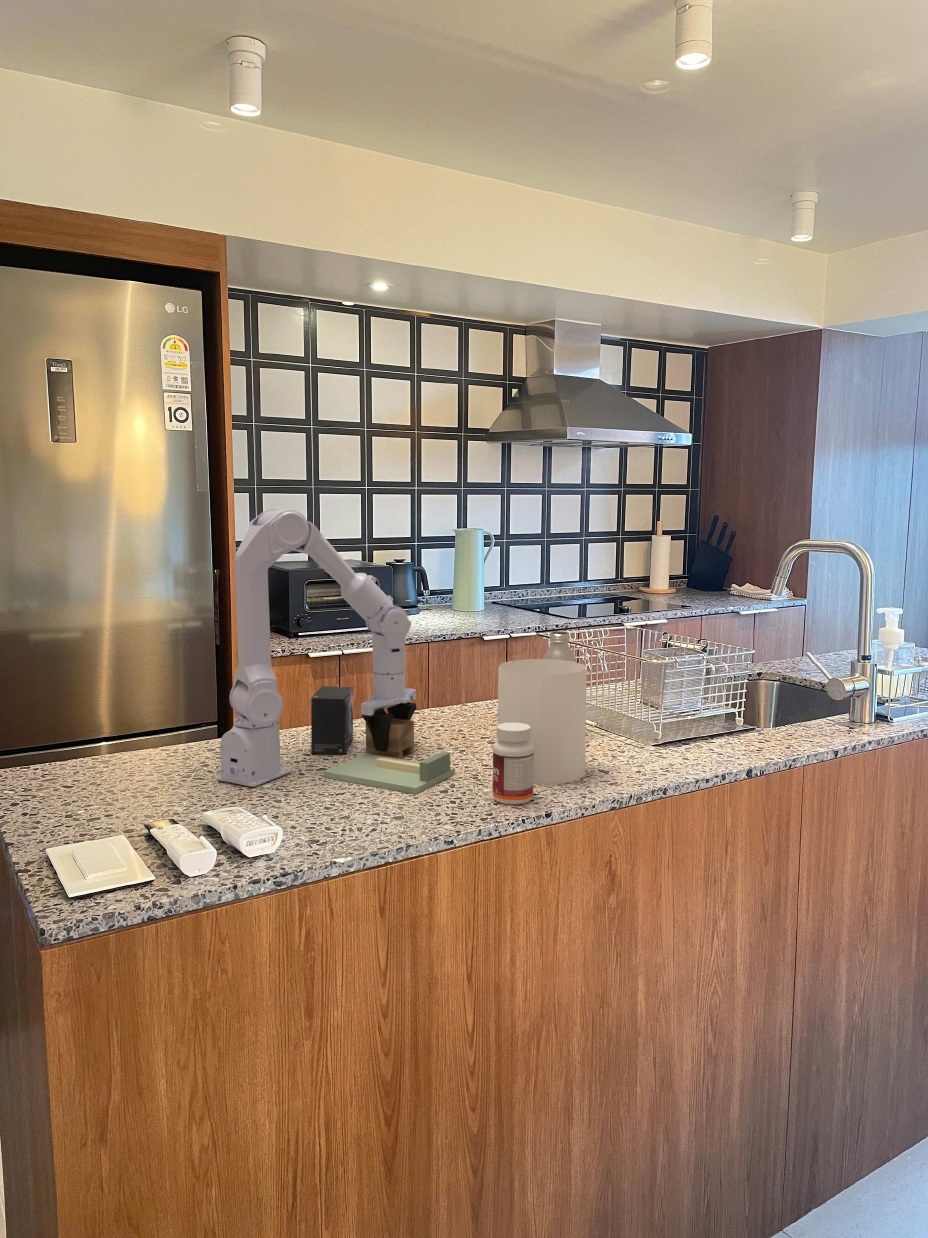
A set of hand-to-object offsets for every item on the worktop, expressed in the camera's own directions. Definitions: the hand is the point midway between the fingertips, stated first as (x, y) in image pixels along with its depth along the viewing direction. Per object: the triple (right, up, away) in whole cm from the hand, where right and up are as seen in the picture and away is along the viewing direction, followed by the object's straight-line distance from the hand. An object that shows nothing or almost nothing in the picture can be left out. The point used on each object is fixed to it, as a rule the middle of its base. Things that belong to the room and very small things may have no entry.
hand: (390, 746), depth 158 cm
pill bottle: (+21, -5, -24) cm, 32 cm away
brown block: (0, -1, 0) cm, 1 cm away
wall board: (+1, -3, -12) cm, 13 cm away
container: (+26, -3, -10) cm, 28 cm away
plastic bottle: (+32, 0, +13) cm, 34 cm away
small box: (-11, -1, +5) cm, 12 cm away
